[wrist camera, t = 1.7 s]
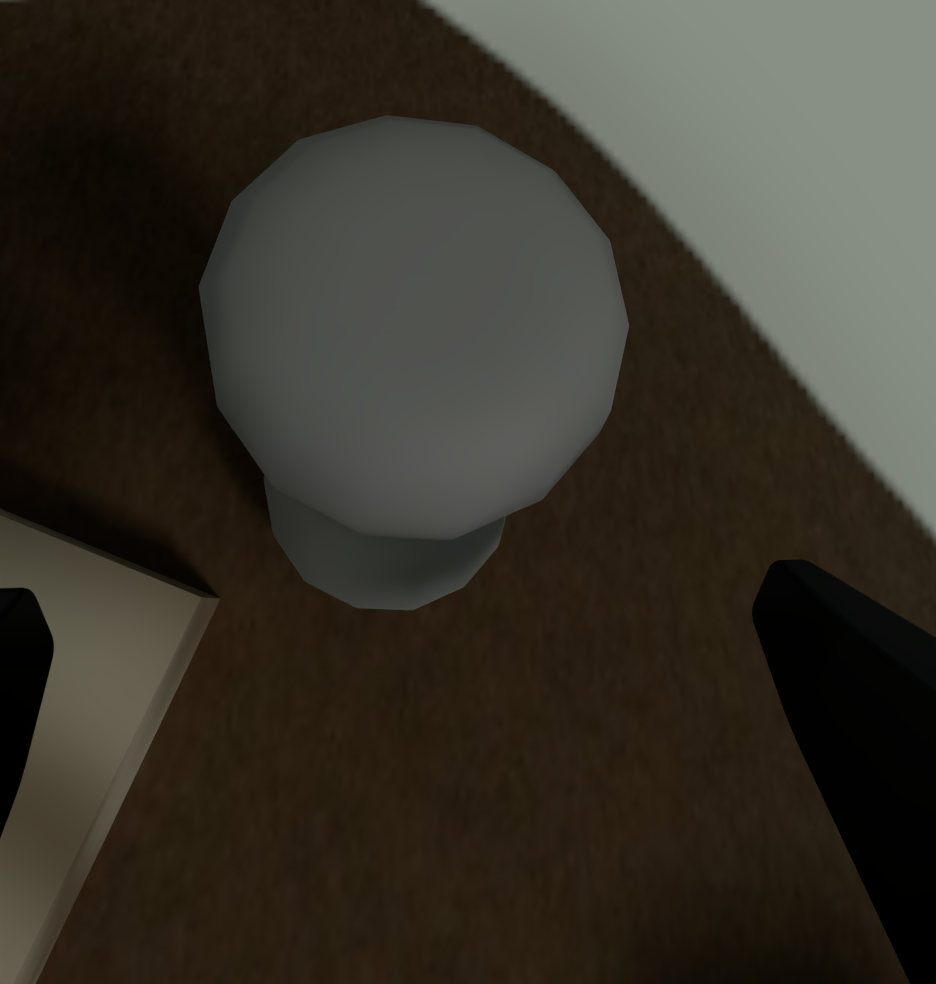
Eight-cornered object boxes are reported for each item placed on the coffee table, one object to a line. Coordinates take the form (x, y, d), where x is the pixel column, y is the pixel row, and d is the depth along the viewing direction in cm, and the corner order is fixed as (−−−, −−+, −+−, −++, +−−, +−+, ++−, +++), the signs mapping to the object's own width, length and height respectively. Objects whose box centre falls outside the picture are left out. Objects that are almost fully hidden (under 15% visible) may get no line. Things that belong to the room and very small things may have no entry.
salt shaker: (237, 544, 18) (-86, 386, 5) (345, 365, 19) (294, -113, 6) (433, 649, 18) (575, 737, 6) (528, 464, 19) (822, 190, 7)
